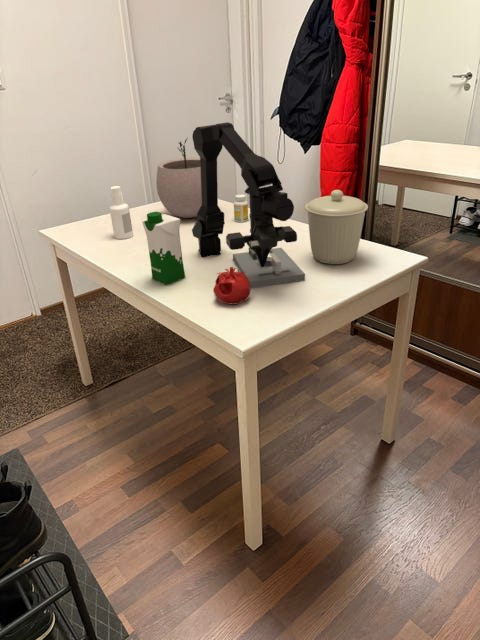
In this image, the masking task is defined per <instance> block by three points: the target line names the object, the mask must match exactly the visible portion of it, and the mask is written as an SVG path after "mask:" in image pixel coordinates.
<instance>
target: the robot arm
mask: <svg viewBox="0 0 480 640" xmlns="http://www.w3.org/2000/svg"><path fill="white" fill-rule="evenodd" d="M192 141H193V148H194V150H195V152H196V153H197V155H198V156H199V158H200V167H201V197H202V205H201V207H200V209H199V211H198V213H197V217H196V222H195V223H194V225H193V227H192V229H191V233H192V236H193V237H194V238H196V239H197V241H198V242H197V243H198V250H197V251H198V254H199V255H200V257H201V258H207V257H213V256H214V257H216V256H221V255H222V254H221V251H222V244H221V243H222V241H221V238H220V237H219V235H222V234H223V232H224V227H225V223H226V222H225V212H224V211H222V210H221V208H220V207H219V204H218V203H219V202H218V201H219V200H218V198H219V196H218V195H219V194H218V191H219V189H218V188H217V183H218V157H219V155H220V153H221V152H222V150H223V148H224V149H225V150H226V151H227V152H228V154H230V156H231V157H232V158H233V160H234V161H235V162H236V163H237V164H238V167H239V168H240V172H241V173H240V175H241V177H242V179H243V181H244V183H245V185H246V186H247V188H246V189H245V190H244V194H247V195H248V196H249V213H248V217H249V221H250V222H249V223H250V229H249V233H250V235H249V234H247V235H243V234H242V233H241V232H231V233H227V234H226V236H225V243H226V245H227V247H228V248H229V250H232V251H235V250H243V248H244V247H245V246H246V245H247V246H248V248H250V249H252V250H254V252H255V254H256V257H257V259H258V261H259V264H260V266H261V267H264V265H265V263H266V260H267V257H268V254H269V252H270V250H271V249H274V248H276V247H278V243H279V242H283V241H284V242H285V243H287V244H288V243H296V242H297V241H298V234H297V231H296V230H295V229H294V228H292V227H291V226H290V225H287V226H275V224H274V220H273V219H275V220H278V221H280V222H286V221H288V220H289V219H291V217H292V216H293V213H294V209H295V205H294V203H293V201H292V200H291V198H289V197H288V195H289V194H288V193H287V192H284V191H283V190H284V188H283V185H282V182H281V179H280V178H279V176H278V174H277V172H276V169H275V166H274V165H273V164H272V163H271V162H270V161H269V160H268V159H267V158H265V157H263V156H260V155H258V154H256V153H255V152H254V151H253V149H251V147H250V146H249V145H248V144H247V142H246V141H245V140H244V139H243V138H242V137H241V136H240V134H239V133H238V132H237V131H236V130H235V127H234V125H233V124H232V123H231V122H229V121H227V122H222V123H215V124H210V125H203V126H197V127H195V129H194V130H193V131H192Z"/></svg>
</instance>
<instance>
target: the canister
mask: <svg viewBox="0 0 480 640" xmlns="http://www.w3.org/2000/svg"><path fill="white" fill-rule="evenodd" d="M304 209H305V210H306V211H307V219H308V222H307V223H308V231H309V232H308V233H309V243H310V250H311V254H312V256H313V258H315V260H317V261H318V262H320V263H323V264H329V265H340V264H346V263H349V262H351V261H352V260H353V259H354V258H355V257H356V255H357V253H358V250H359V246H360V241H361V237H362V236H361V235H362V230H363V226H364V219H365V215H366V211H368V209H369V205H368V204H367V203H366V202H364V201H363V200H361V199H360V198H357V197H354V196H349V195H344V193H343V191H342V190H340V189H334V190H332V191H331V193H330V195H325V196H320V197H317V198H314V199H312V200H311V201H309V202H307V203H306V204H305V206H304Z"/></svg>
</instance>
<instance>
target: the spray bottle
mask: <svg viewBox="0 0 480 640" xmlns="http://www.w3.org/2000/svg"><path fill="white" fill-rule="evenodd" d="M110 191H111V195H110V196H111V202H112V204H111V205H110V206H109V214H110V218H111V219H110V220H111V226H112V229H113V235H114V238H115V239H117V240H126V239H130V238H131V237H133V236H134V231H133V224H132V219H131V213H130V207H129V204H127V203H125V201H124V195H123V191H122V187H121V186H120V185H114V186H111V187H110Z"/></svg>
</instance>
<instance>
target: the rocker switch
mask: <svg viewBox="0 0 480 640" xmlns="http://www.w3.org/2000/svg"><path fill="white" fill-rule="evenodd" d="M272 257H277V256H276V255H275V254H274V253H269V254H268V257H267V260H266V261H272Z"/></svg>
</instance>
